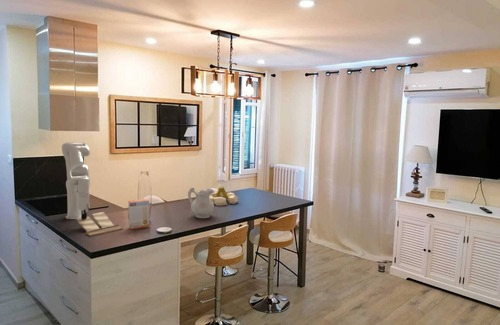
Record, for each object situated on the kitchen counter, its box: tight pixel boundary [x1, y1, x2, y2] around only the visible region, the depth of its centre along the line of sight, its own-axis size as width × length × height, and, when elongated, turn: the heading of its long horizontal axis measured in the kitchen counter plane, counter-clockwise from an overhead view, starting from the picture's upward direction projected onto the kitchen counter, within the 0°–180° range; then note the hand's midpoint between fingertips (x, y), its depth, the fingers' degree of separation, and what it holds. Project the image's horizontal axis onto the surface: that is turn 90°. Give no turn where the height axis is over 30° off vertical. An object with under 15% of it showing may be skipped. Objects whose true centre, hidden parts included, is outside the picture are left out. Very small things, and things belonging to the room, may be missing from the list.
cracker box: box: [128, 198, 150, 230], centre depth 274 cm, size 14×6×21 cm, turn 121°
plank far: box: [91, 211, 115, 229], centre depth 274 cm, size 18×9×1 cm, turn 50°
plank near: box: [76, 216, 101, 233], centre depth 266 cm, size 18×9×1 cm, turn 50°
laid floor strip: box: [85, 224, 124, 237], centre depth 262 cm, size 7×24×2 cm, turn 140°
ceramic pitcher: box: [187, 187, 215, 219], centre depth 310 cm, size 22×20×25 cm
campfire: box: [209, 185, 239, 207], centre depth 367 cm, size 35×34×17 cm
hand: (84, 218), depth 270 cm, fingers closed
